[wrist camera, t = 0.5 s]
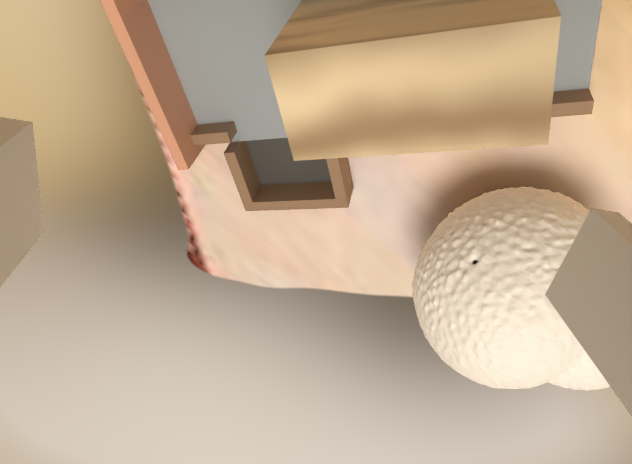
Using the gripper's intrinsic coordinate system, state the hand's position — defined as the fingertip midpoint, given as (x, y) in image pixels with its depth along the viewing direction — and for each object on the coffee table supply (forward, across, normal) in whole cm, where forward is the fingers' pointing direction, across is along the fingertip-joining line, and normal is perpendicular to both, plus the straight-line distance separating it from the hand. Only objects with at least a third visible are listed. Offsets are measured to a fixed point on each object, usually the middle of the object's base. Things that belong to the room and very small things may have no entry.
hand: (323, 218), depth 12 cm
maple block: (+26, +8, +1) cm, 27 cm away
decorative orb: (+28, +23, -13) cm, 38 cm away
